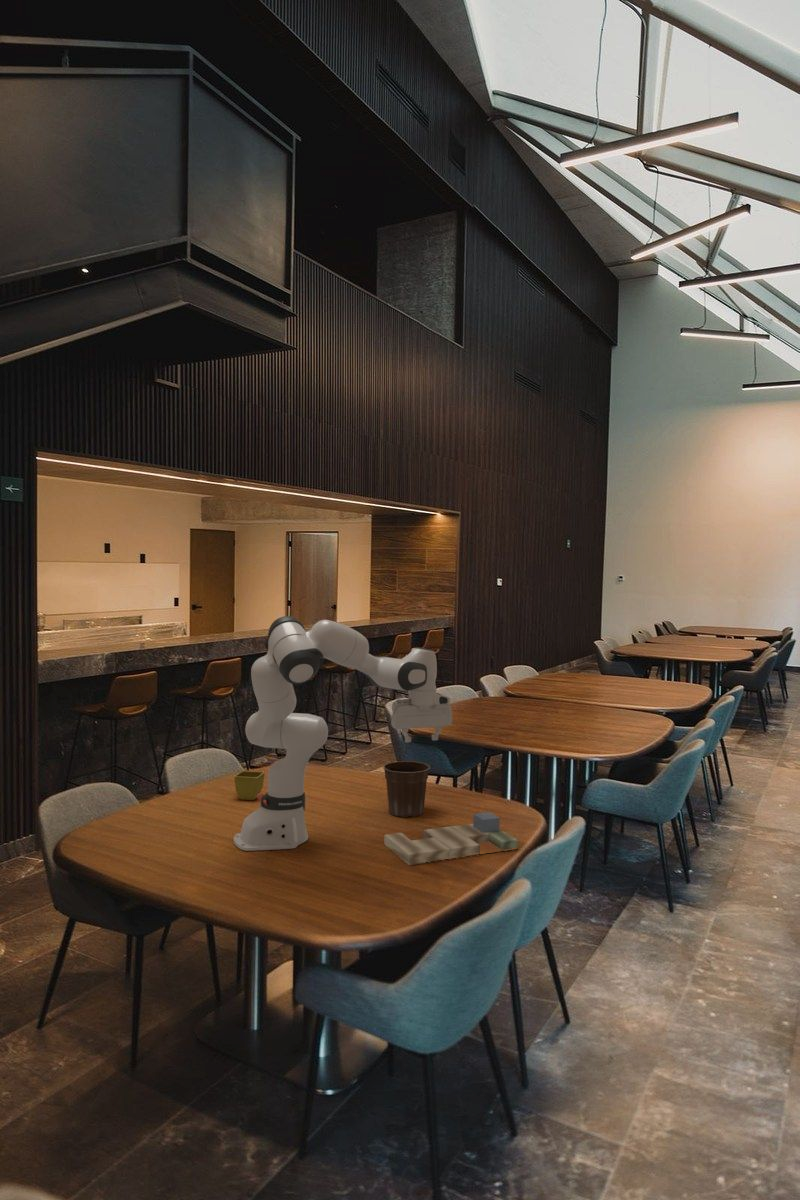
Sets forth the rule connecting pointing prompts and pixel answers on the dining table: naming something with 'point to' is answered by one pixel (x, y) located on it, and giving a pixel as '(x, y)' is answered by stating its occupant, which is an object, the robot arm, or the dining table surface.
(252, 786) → the flower pot
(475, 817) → the slate block
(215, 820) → the dining table surface
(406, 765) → the plant pot
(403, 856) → the wooden cutout board
